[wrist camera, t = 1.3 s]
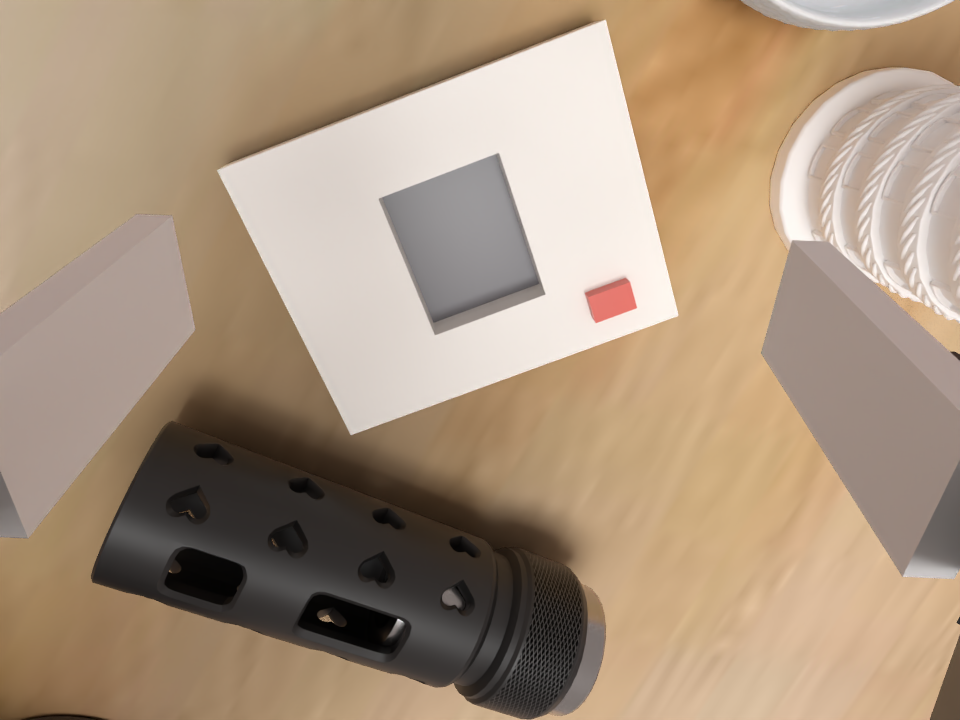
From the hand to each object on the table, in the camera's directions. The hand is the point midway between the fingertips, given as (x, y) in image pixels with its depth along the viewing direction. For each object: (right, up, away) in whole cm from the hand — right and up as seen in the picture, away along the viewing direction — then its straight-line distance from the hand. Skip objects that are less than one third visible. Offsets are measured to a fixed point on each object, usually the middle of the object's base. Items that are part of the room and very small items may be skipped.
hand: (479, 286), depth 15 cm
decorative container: (+22, +9, +25) cm, 35 cm away
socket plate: (-1, +5, +24) cm, 24 cm away
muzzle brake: (-7, -12, +31) cm, 34 cm away
